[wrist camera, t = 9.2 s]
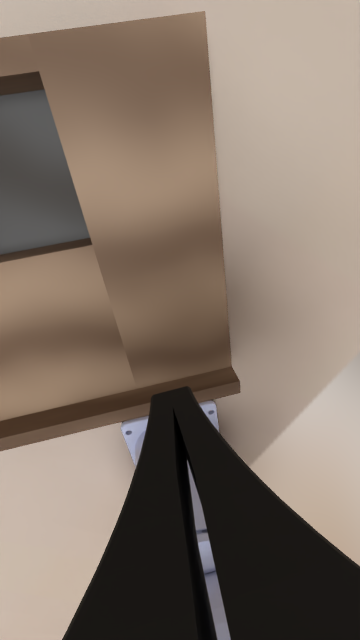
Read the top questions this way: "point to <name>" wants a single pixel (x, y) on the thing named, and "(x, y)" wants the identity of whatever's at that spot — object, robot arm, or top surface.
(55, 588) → the top surface
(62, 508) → the top surface
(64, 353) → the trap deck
